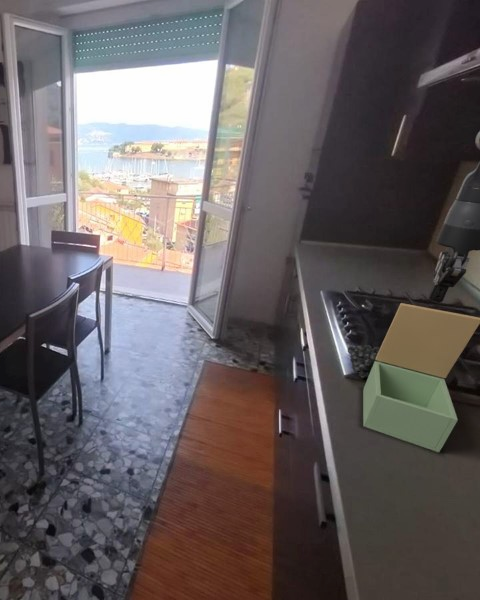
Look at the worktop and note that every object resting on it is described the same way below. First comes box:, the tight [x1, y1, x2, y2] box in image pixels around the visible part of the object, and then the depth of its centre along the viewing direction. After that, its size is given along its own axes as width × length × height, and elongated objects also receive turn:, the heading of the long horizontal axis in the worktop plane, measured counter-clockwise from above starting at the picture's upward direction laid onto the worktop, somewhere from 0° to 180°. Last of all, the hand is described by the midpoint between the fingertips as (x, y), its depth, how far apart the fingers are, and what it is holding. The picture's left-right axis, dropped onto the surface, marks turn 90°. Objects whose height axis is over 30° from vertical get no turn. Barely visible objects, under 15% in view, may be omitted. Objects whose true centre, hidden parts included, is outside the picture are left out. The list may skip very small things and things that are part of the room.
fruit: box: [347, 344, 394, 380], centre depth 97 cm, size 9×8×15 cm
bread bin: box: [362, 361, 459, 453], centre depth 80 cm, size 16×13×9 cm
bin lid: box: [376, 302, 480, 379], centre depth 79 cm, size 16×13×1 cm
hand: (434, 300), depth 80 cm, fingers closed
